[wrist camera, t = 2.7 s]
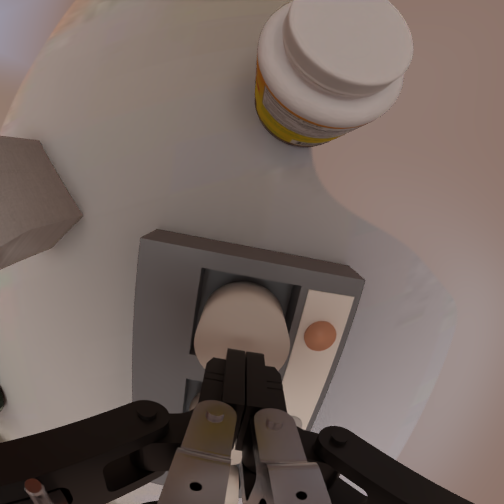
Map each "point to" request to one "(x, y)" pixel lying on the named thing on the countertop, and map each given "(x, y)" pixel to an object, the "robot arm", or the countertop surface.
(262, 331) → the button
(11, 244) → the grey carton box
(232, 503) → the button
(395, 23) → the supplement bottle
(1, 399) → the coffee jar
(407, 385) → the countertop surface
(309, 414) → the button board
